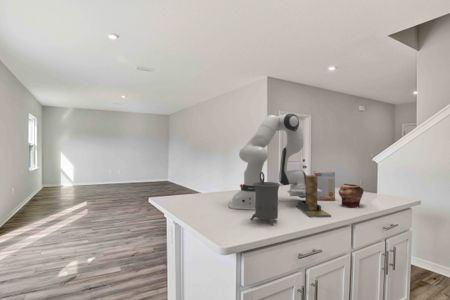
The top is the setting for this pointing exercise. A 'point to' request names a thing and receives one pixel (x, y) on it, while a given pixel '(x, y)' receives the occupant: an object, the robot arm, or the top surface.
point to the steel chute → (311, 213)
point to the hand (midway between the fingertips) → (309, 195)
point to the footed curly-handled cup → (266, 200)
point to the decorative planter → (351, 195)
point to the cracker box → (326, 184)
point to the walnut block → (311, 192)
